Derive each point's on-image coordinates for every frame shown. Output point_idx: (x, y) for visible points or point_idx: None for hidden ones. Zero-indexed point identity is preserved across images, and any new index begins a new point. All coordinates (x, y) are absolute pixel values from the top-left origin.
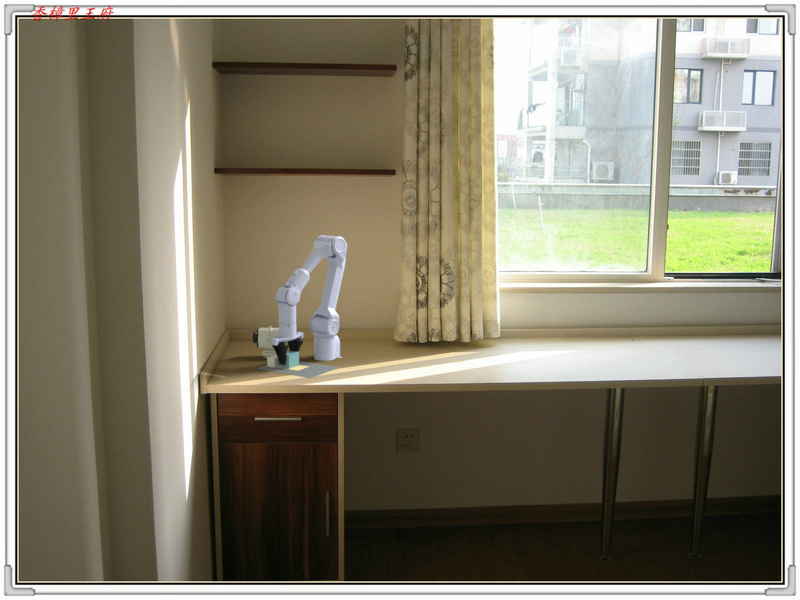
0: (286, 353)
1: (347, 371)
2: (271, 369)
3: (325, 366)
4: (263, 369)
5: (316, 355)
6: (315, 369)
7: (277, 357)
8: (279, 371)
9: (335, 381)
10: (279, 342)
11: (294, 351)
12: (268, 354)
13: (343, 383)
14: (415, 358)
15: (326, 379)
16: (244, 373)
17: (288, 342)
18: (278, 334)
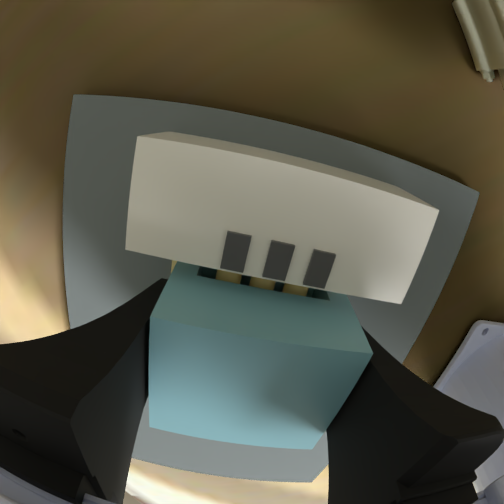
0: (138, 422)
1: (294, 489)
2: (97, 224)
3: (317, 453)
4: (68, 163)
5: (469, 389)
6: (239, 445)
7: (205, 252)
8: (86, 305)
9: (148, 484)
10: (17, 488)
11: (327, 419)
12: (486, 18)
13: (144, 494)
14: None
15: (151, 470)
16: (11, 69)
17: (416, 436)
18: None
